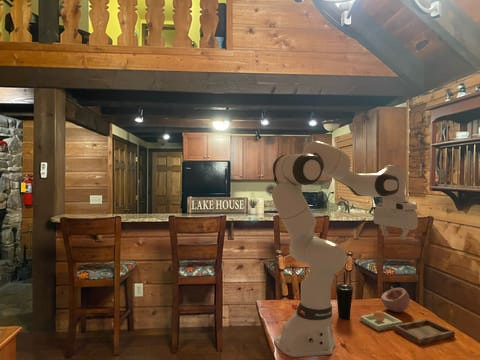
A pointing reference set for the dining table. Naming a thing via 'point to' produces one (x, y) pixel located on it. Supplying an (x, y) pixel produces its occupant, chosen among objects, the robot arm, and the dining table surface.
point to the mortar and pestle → (396, 299)
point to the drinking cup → (344, 300)
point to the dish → (424, 331)
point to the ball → (379, 316)
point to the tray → (379, 326)
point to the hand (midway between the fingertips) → (393, 237)
